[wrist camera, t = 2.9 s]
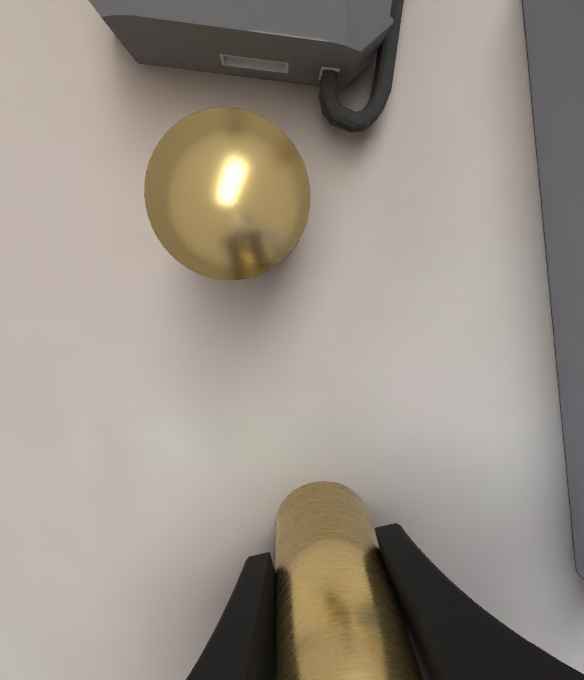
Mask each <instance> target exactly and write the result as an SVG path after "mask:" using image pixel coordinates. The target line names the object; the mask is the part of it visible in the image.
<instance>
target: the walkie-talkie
mask: <svg viewBox="0 0 584 680" xmlns="http://www.w3.org/2000/svg"><path fill="white" fill-rule="evenodd" d="M89 1H90V3H91V4H92V5H93V7H94V8H95V9H96V11H97V12H98V13H99V15H100V16H101V17H102V19H103V20H104V21H105V22H106V24H107V25H108V26H109V27H110V29H111V30H112V31H113V32H114V34H115V35H116V36H117V37H118V39H119V40H120V41H121V42H122V44H123V45H124V46H125V47H126V49H127V50H128V51H129V52H130V54H131V55H132V56H133V57H134V59H135V60H136V61H137V62H138V63H142V64H150V65H157V66H165V67H173V68H181V69H189V70H197V71H205V72H213V73H220V74H228V75H236V76H244V77H252V78H260V79H268V80H275V81H283V82H291V83H299V84H307V85H315V86H320V93H319V98H320V103H321V108H322V113H323V115H324V116H325V117H326V119H327V120H328V121H329V123H330V124H331V125H334V126H336V127H338V128H341V129H343V130H345V131H348V132H350V133H352V132H358V131H363V130H364V129H366V128H367V127H369V126H370V125H372V124H373V122H374V121H375V120H376V119H377V118H378V116H379V115H380V114H381V113H382V111H383V109H384V107H385V104H386V102H387V99H388V97H389V95H390V92H391V88H392V80H393V73H394V66H395V59H396V52H397V44H398V37H399V30H400V23H401V16H402V9H403V2H404V0H89ZM377 51H378V53H377V60H376V68H375V76H374V83H373V89H372V92H371V96H370V100H369V102H368V104H367V106H366V107H365V108H364V109H363V110H362V111H358V112H354V111H352V110H350V109H347V108H345V107H343V106H342V104H341V103H340V102H339V100H338V92H337V88H338V89H343V88H344V87H346V86H347V85H348V84H349V83H350V82H351V81H352V80H353V79H354V78H355V77H356V76H357V75H358V74H360V73H361V72H362V71H363V70H364V69H365V68H366V67H367V66H368V65H369V64H370V63H371V61H372V60H373V58H374V56H375V54H376V52H377Z"/></svg>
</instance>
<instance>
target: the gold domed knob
mask: <svg viewBox="0 0 584 680" xmlns="http://www.w3.org/2000/svg"><path fill="white" fill-rule="evenodd" d="M145 204H146V209H147V213H148V217H149V220H150V223H151V225H152V228H153V230H154V232H155V234H156V236H157V238H158V239H159V240H160V242H161V243H162V245H163V246H164V248H165V249H166V250H167V251H168V252H169V253H170V254H171V255H172V256H173V257H174V258H175V259H176V260H177V261H178V262H180V263H181V264H183V265H184V266H186V267H187V268H189V269H190V270H192V271H194V272H196V273H198V274H201V275H204V276H207V277H211V278H215V279H222V280H240V279H245V278H250V277H253V276H257V275H259V274H261V273H264V272H266V271H268V270H270V269H271V268H273V267H274V266H276V265H277V264H278V263H280V262H281V261H282V260H283V259H284V258H285V257H286V256H287V255H288V254H289V253H290V252H291V251H292V249H293V248H294V246H295V245H296V244H297V242H298V240H299V238H300V237H301V235H302V233H303V230H304V228H305V225H306V222H307V218H308V213H309V206H310V187H309V180H308V176H307V172H306V168H305V165H304V163H303V161H302V158H301V156H300V154H299V153H298V151H297V149H296V147H295V146H294V144H293V143H292V142H291V140H290V139H289V138H288V137H287V136H286V135H285V134H284V133H283V132H282V131H281V130H280V129H279V128H278V127H277V126H276V125H274V124H273V123H272V122H270V121H269V120H267V119H265V118H263V117H262V116H260V115H257V114H255V113H253V112H250V111H246V110H243V109H238V108H230V107H220V108H211V109H205V110H202V111H199V112H196V113H194V114H192V115H190V116H188V117H186V118H184V119H182V120H181V121H179V122H178V123H177V124H175V125H174V126H173V127H172V128H171V129H170V130H169V131H168V132H167V133H166V134H165V135H164V136H163V138H162V139H161V140H160V141H159V143H158V145H157V146H156V148H155V150H154V152H153V154H152V156H151V159H150V161H149V164H148V168H147V171H146V178H145Z"/></svg>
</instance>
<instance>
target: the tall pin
mask: <svg viewBox="0 0 584 680" xmlns="http://www.w3.org/2000/svg"><path fill="white" fill-rule="evenodd" d="M276 680H423V677H422V674H421V671H420V668H419V665H418V662H417V659H416V656H415V653H414V650H413V647H412V644H411V641H410V638H409V635H408V632H407V629H406V626H405V623H404V620H403V617H402V614H401V611H400V608H399V605H398V602H397V599H396V596H395V593H394V590H393V587H392V585H391V582H390V579H389V577H388V574H387V571H386V568H385V565H384V562H383V559H382V555H381V552H380V549H379V545H378V542H377V539H376V536H375V533H374V530H373V527H372V524H371V521H370V518H369V515H368V512H367V509H366V507H365V505H364V503H363V501H362V500H361V498H360V497H359V496H358V495H357V494H356V493H355V492H354V491H352V490H351V489H349V488H348V487H345V486H343V485H341V484H337V483H333V482H316V483H311V484H307V485H305V486H302V487H300V488H298V489H297V490H295V491H294V492H292V493H291V494H290V495H289V496H288V497H287V498H286V499H285V500H284V501H283V503H282V504H281V506H280V508H279V510H278V513H277V517H276Z"/></svg>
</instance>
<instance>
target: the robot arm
mask: <svg viewBox="0 0 584 680" xmlns="http://www.w3.org/2000/svg"><path fill="white" fill-rule="evenodd" d="M375 531H376V536H377V540H378V545H379V549H380V552H381V555H382V559H383V562H384V565H385V568H386V571H387V574H388V577H389V579H390V582H391V585H392V587H393V590H394V593H395V596H396V599H397V602H398V605H399V608H400V611H401V614H402V617H403V620H404V623H405V626H406V629H407V632H408V635H409V638H410V641H411V644H412V647H413V650H414V653H415V656H416V659H417V662H418V665H419V668H420V671H421V674H422V677H423V680H584V674H582V673H581V672H579V671H577V670H575V669H573V668H572V667H570V666H568V665H566V664H565V663H563V662H561V661H559V660H558V659H556V658H555V657H553V656H551V655H550V654H548V653H547V652H545V651H543V650H542V649H540V648H539V647H537V646H535V645H534V644H532V643H531V642H529V641H527V640H526V639H524V638H523V637H521V636H520V635H518V634H517V633H515V632H514V631H513V630H511V629H510V628H508V627H507V626H506V625H504V624H503V623H501V622H500V621H499V620H497V619H496V618H495V617H493V616H492V615H491V614H489V613H488V612H487V611H485V610H484V609H483V608H482V607H480V606H479V605H478V604H477V603H476V602H474V601H473V600H472V599H471V598H470V597H468V596H467V595H466V594H465V593H464V592H463V591H462V590H460V589H459V588H458V587H457V586H456V585H455V584H454V583H453V582H452V581H450V580H449V579H448V578H447V577H446V576H445V575H444V574H443V573H442V572H441V571H440V570H439V569H438V568H437V567H436V566H435V565H434V564H433V563H432V562H431V561H430V560H429V559H428V558H427V557H426V556H425V555H424V554H423V552H422V551H421V550H420V549H419V548H418V547H417V546H416V545H415V543H414V542H413V541H412V540H411V539H410V538H409V536H408V535H407V534H406V532H405V531H404V530H403V528H402V527H401V526H400V525H399V524H397V523H394V524H390V525H386V526H381V527H377V528H375ZM186 680H276V573H275V569H274V566H273V562H272V559H271V555H270V552H268V553H264V554H259V555H255V556H250V557H248V559H247V560H246V562H245V564H244V567H243V569H242V572H241V574H240V577H239V579H238V581H237V584H236V586H235V588H234V591H233V593H232V595H231V597H230V600H229V602H228V604H227V606H226V608H225V610H224V612H223V614H222V616H221V618H220V620H219V622H218V624H217V626H216V628H215V630H214V632H213V634H212V636H211V638H210V639H209V641H208V643H207V645H206V647H205V649H204V650H203V652H202V654H201V656H200V658H199V659H198V661H197V663H196V664H195V666H194V668H193V669H192V671H191V673H190V674H189V676H188V677H187V679H186Z"/></svg>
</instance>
